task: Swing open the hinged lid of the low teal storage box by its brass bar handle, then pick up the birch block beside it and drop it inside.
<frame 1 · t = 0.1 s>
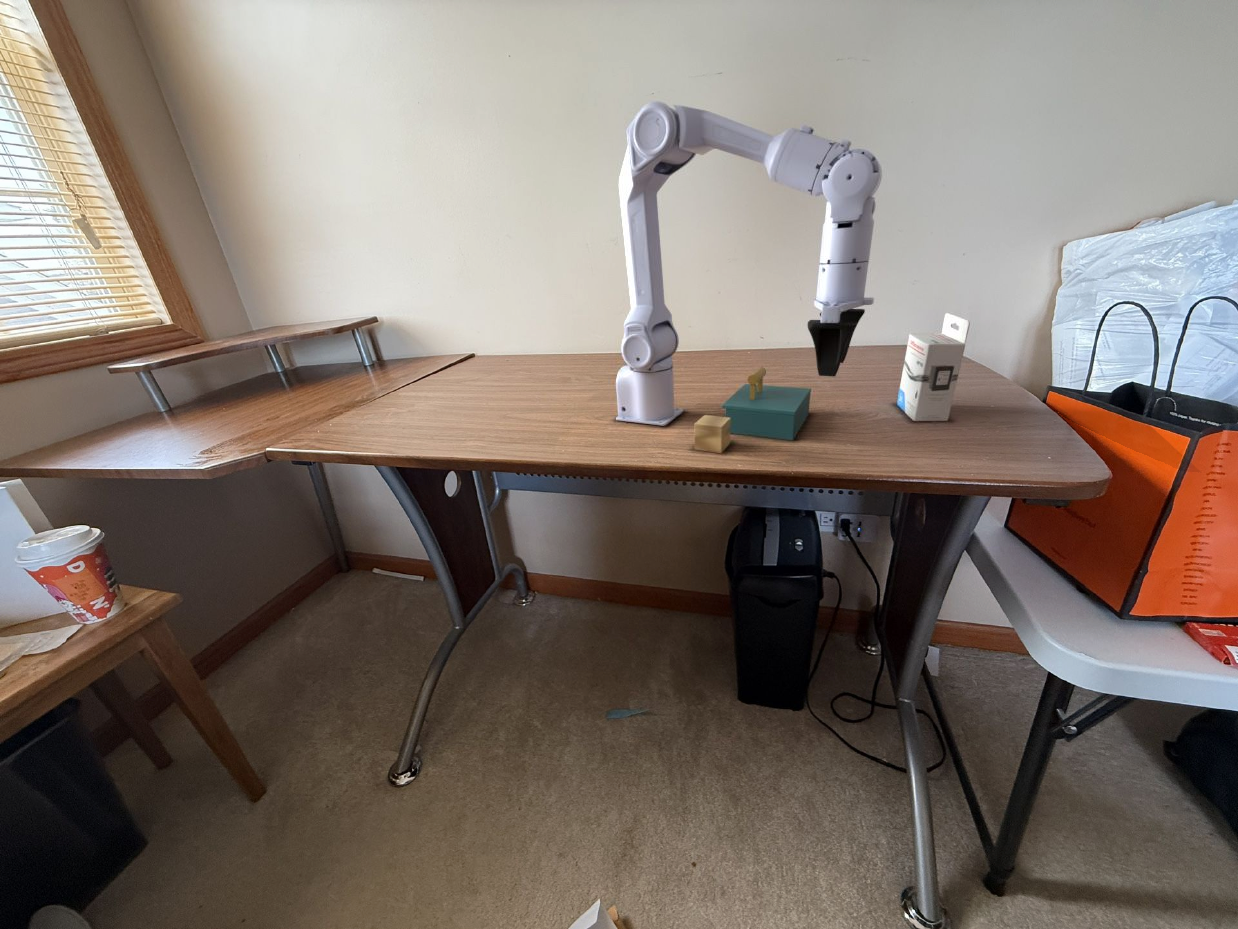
hand: (831, 368, 66), 10 cm above the table, tool pointing down, fingers open, 7 cm apart
chest: (768, 423, 77), on the table
block: (712, 446, 70), on the table
ink box: (920, 414, 76), on the table
chest lid: (768, 385, 74), point 6 cm above the table, hinge at 0.0°
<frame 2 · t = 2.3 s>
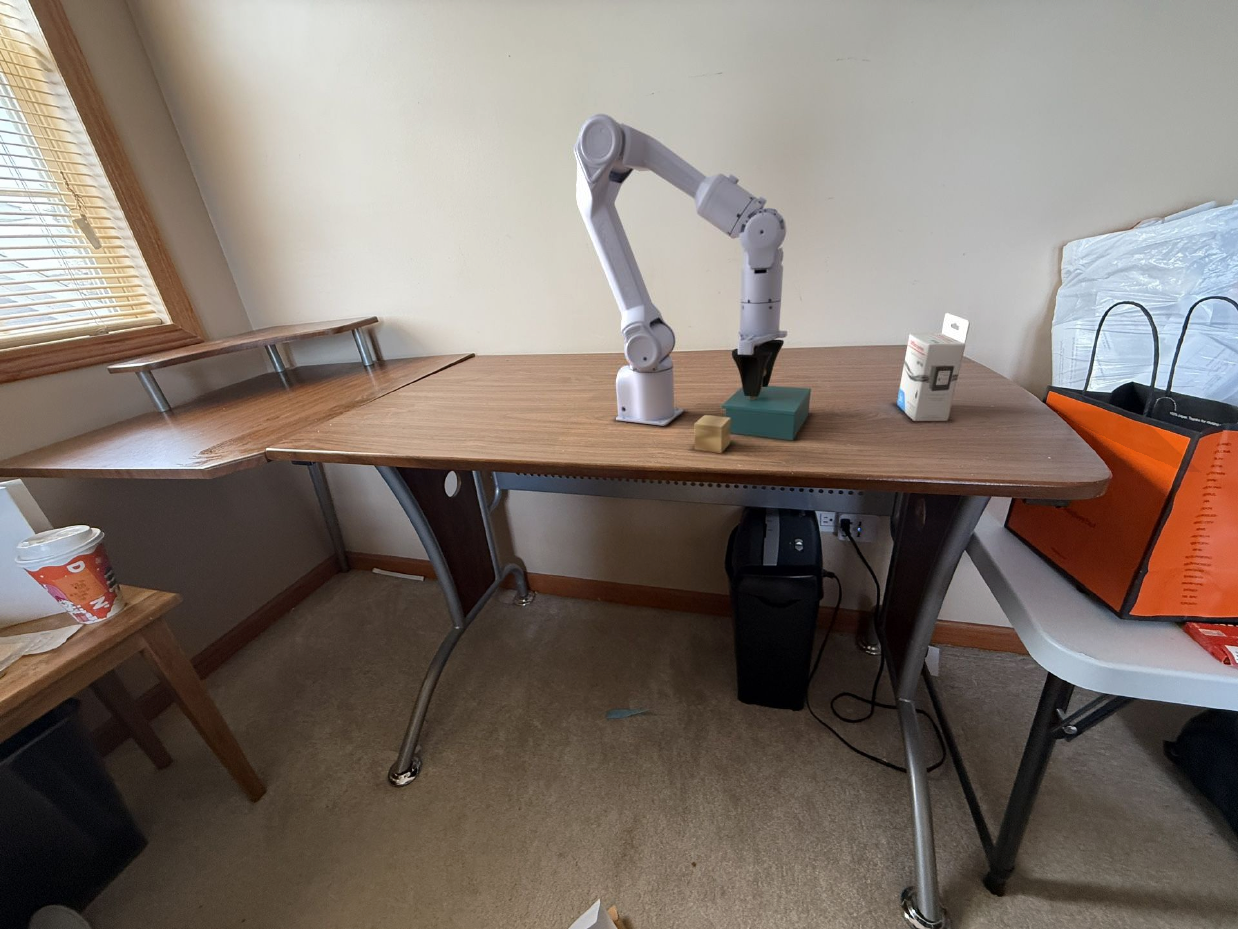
hand: (756, 390, 76), 5 cm above the table, tool pointing down, fingers closed on chest lid, 5 cm apart
chest lid: (768, 385, 74), point 6 cm above the table, hinge at 0.0°, touching gripper
everything else where it was.
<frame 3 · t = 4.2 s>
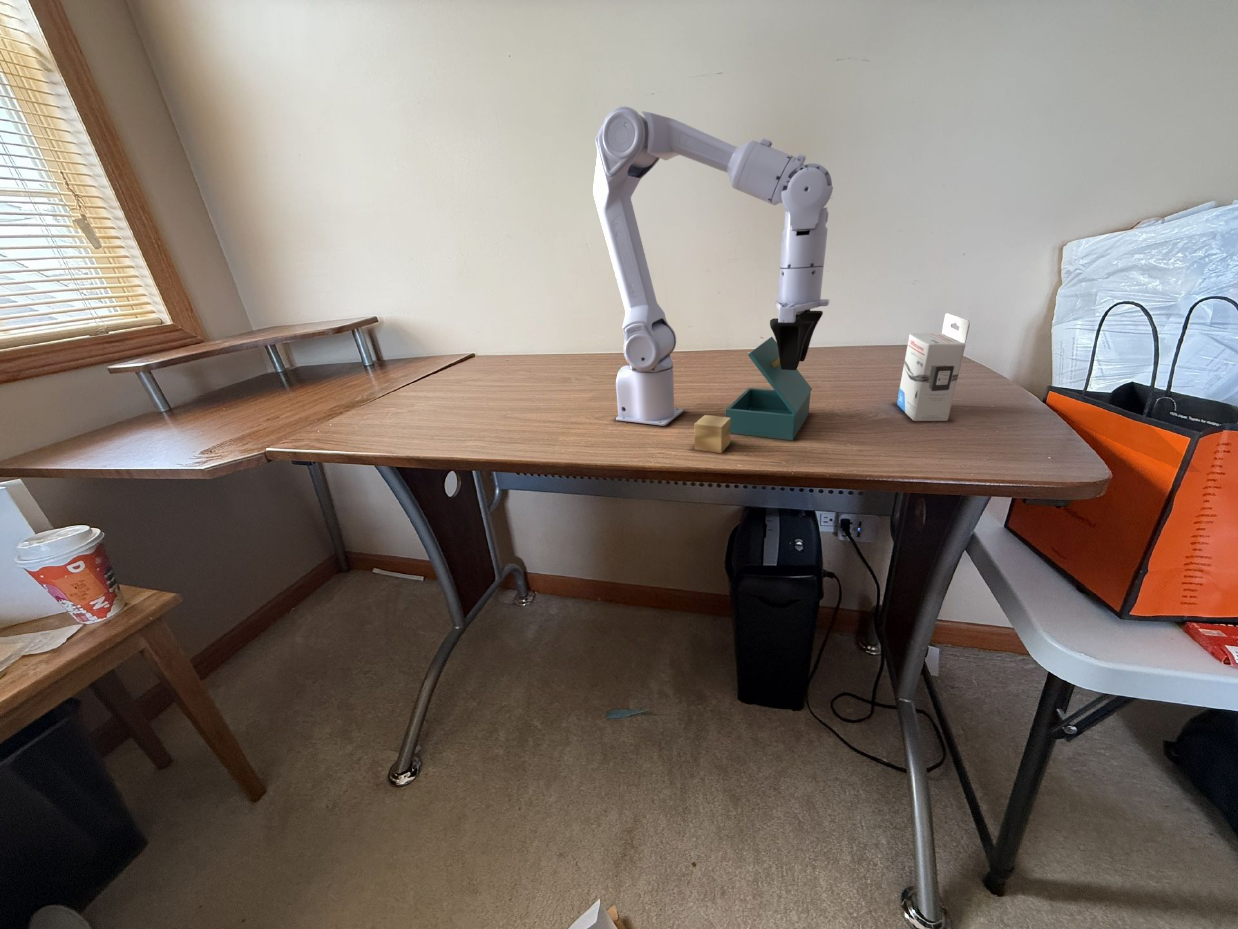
hand: (793, 365, 71), 10 cm above the table, tool pointing down, fingers closed on chest lid, 5 cm apart
chest lid: (793, 365, 71), point 10 cm above the table, hinge at 50.2°, touching gripper
everything else where it was.
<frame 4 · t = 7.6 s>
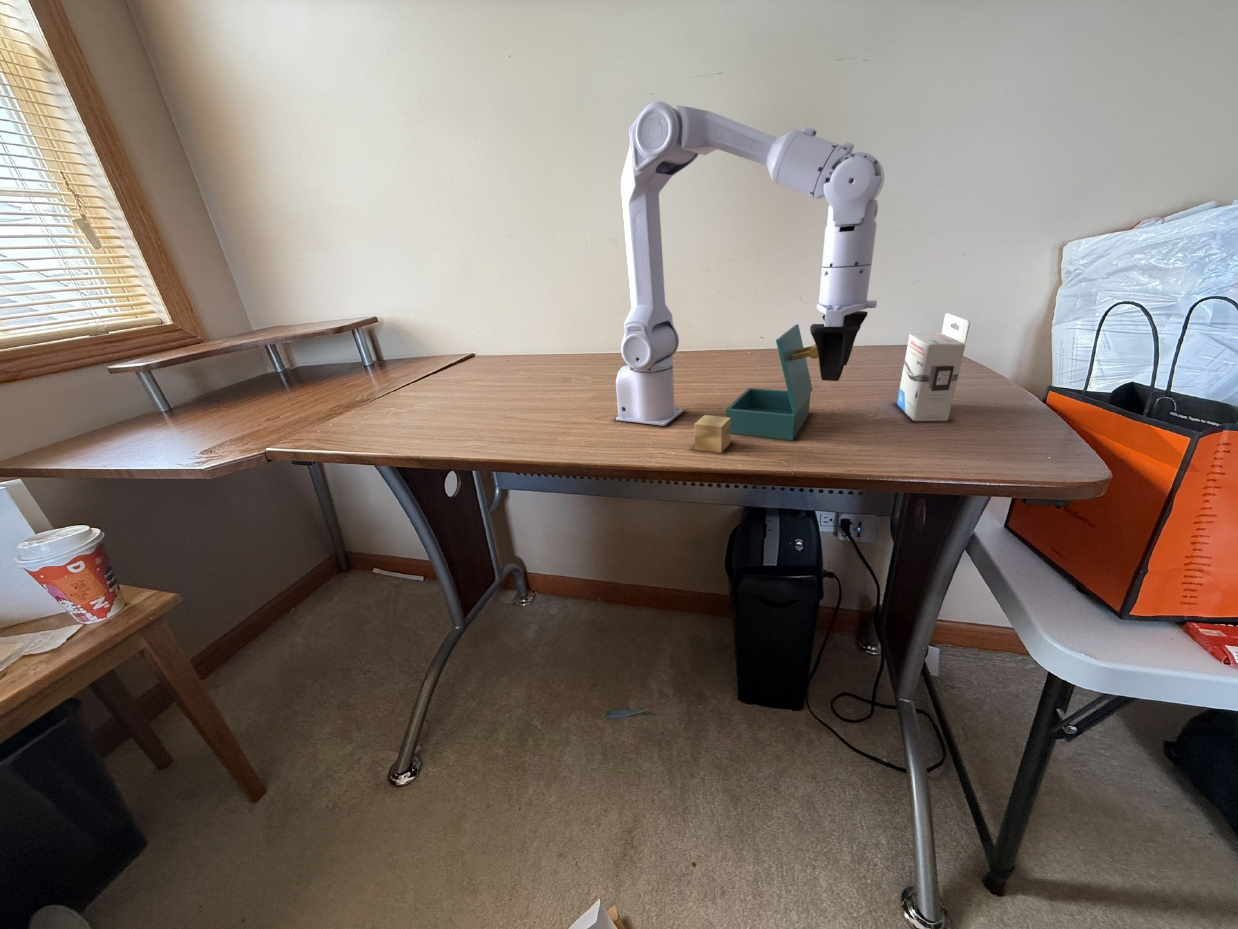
hand: (834, 371, 66), 10 cm above the table, tool pointing down, fingers open, 7 cm apart
chest lid: (809, 363, 70), point 10 cm above the table, hinge at 73.2°
everything else where it was.
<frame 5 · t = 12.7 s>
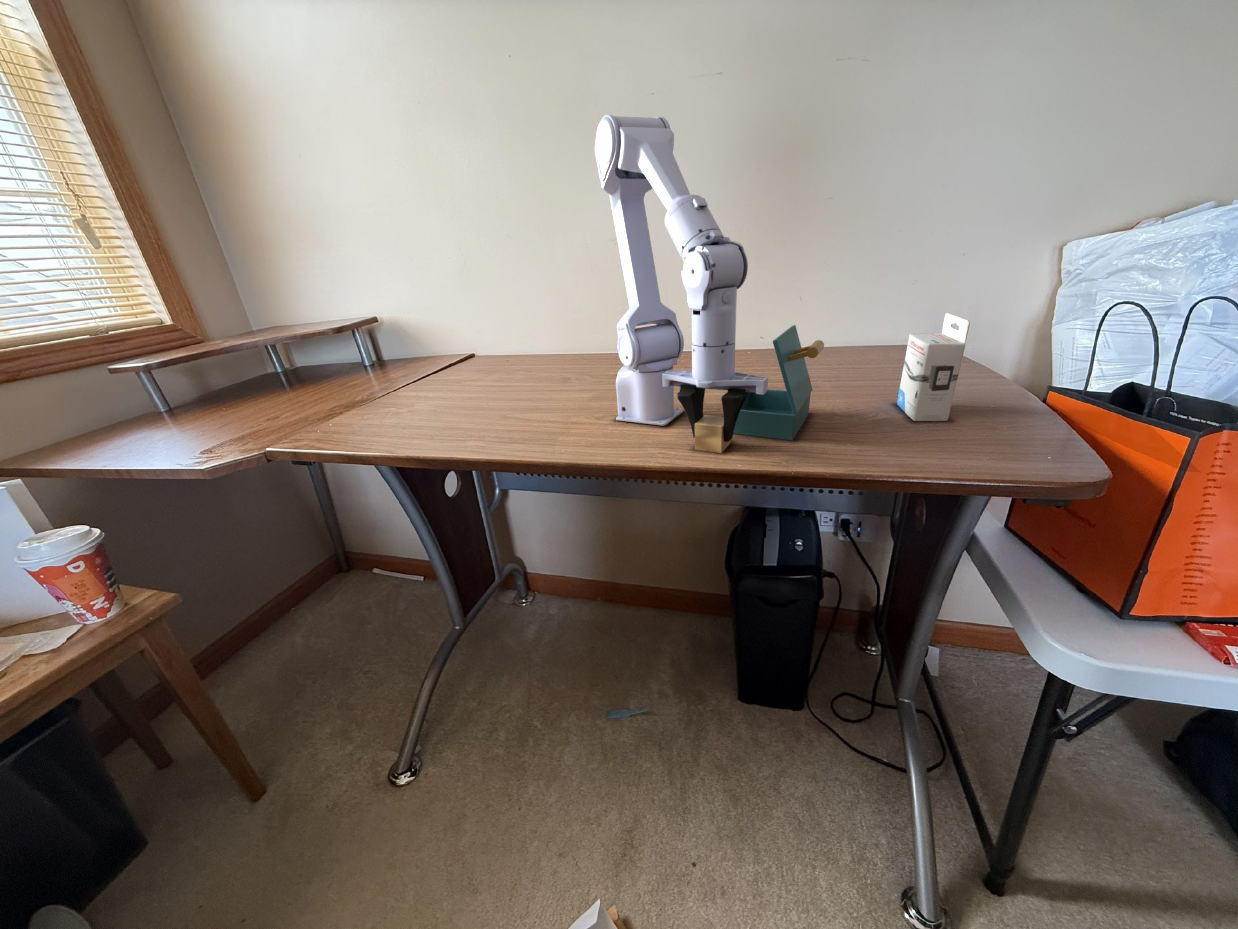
hand: (712, 437, 69), 1 cm above the table, tool pointing down, fingers closed on block, 4 cm apart
block: (712, 446, 70), on the table, touching gripper
chest lid: (807, 363, 70), point 10 cm above the table, hinge at 71.1°
everything else where it was.
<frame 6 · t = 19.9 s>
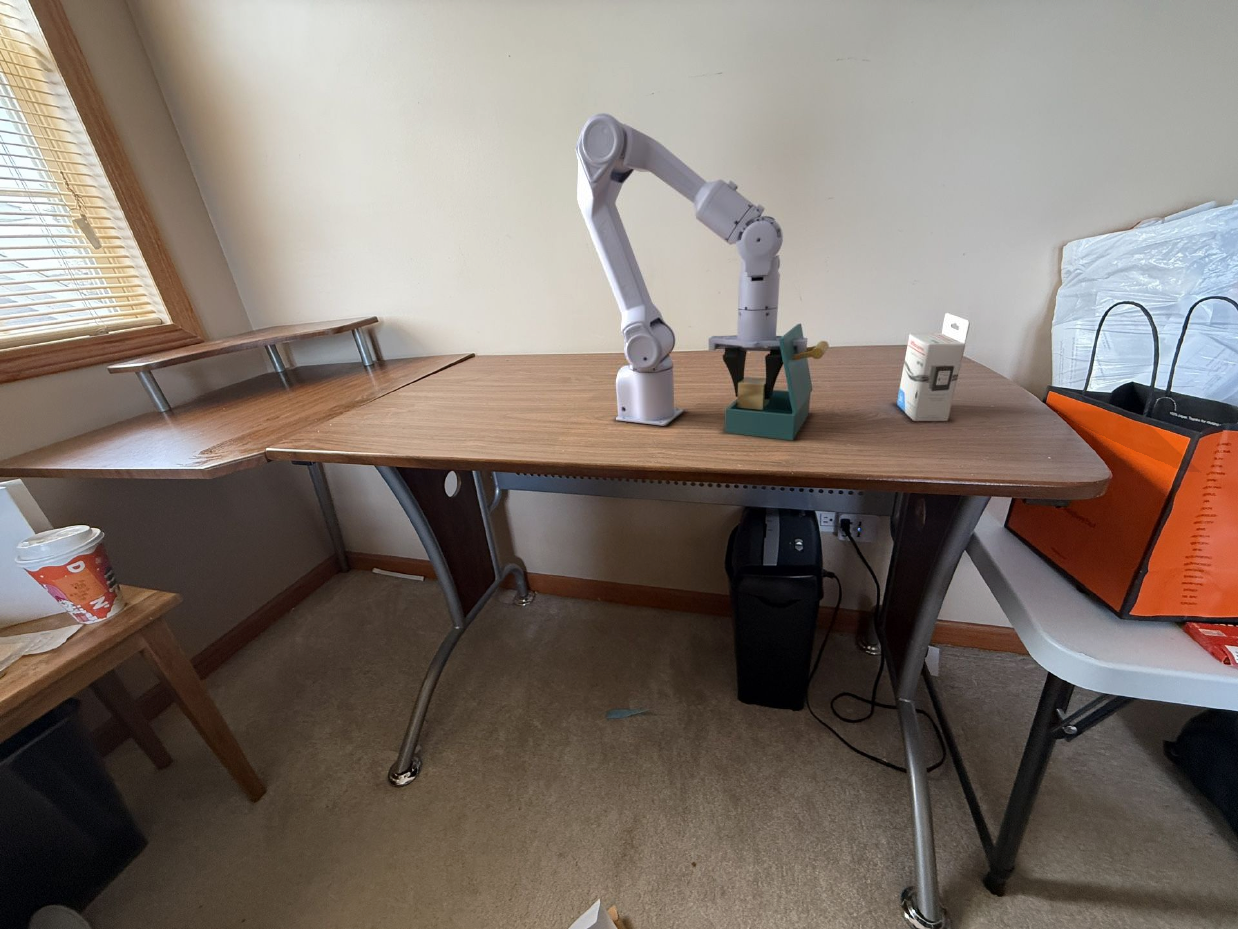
hand: (753, 396, 76), 4 cm above the table, tool pointing down, fingers closed on block, 4 cm apart
block: (753, 405, 77), point 3 cm above the table, touching gripper
chest lid: (811, 364, 70), point 10 cm above the table, hinge at 75.8°
everything else where it was.
when the fingers open (6 cm above the table, at t = 27.4 s): block drops 2 cm and tips over, resting on chest.
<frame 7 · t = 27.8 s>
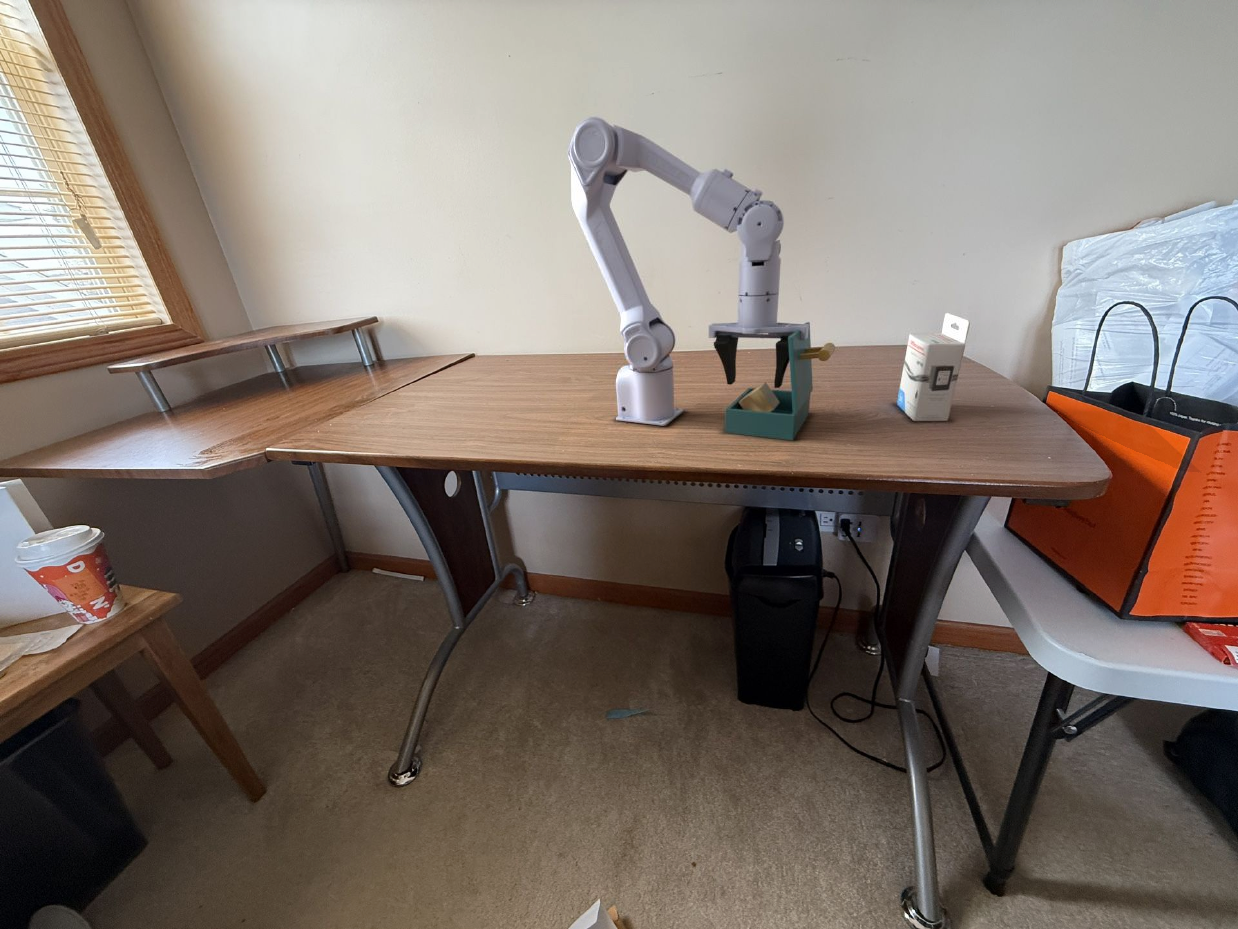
hand: (754, 384, 75), 6 cm above the table, tool pointing down, fingers open, 7 cm apart
block: (749, 408, 77), point 2 cm above the table, tilted 52°, touching chest
chest lid: (815, 365, 70), point 10 cm above the table, hinge at 82.5°, touching gripper
everything else where it was.
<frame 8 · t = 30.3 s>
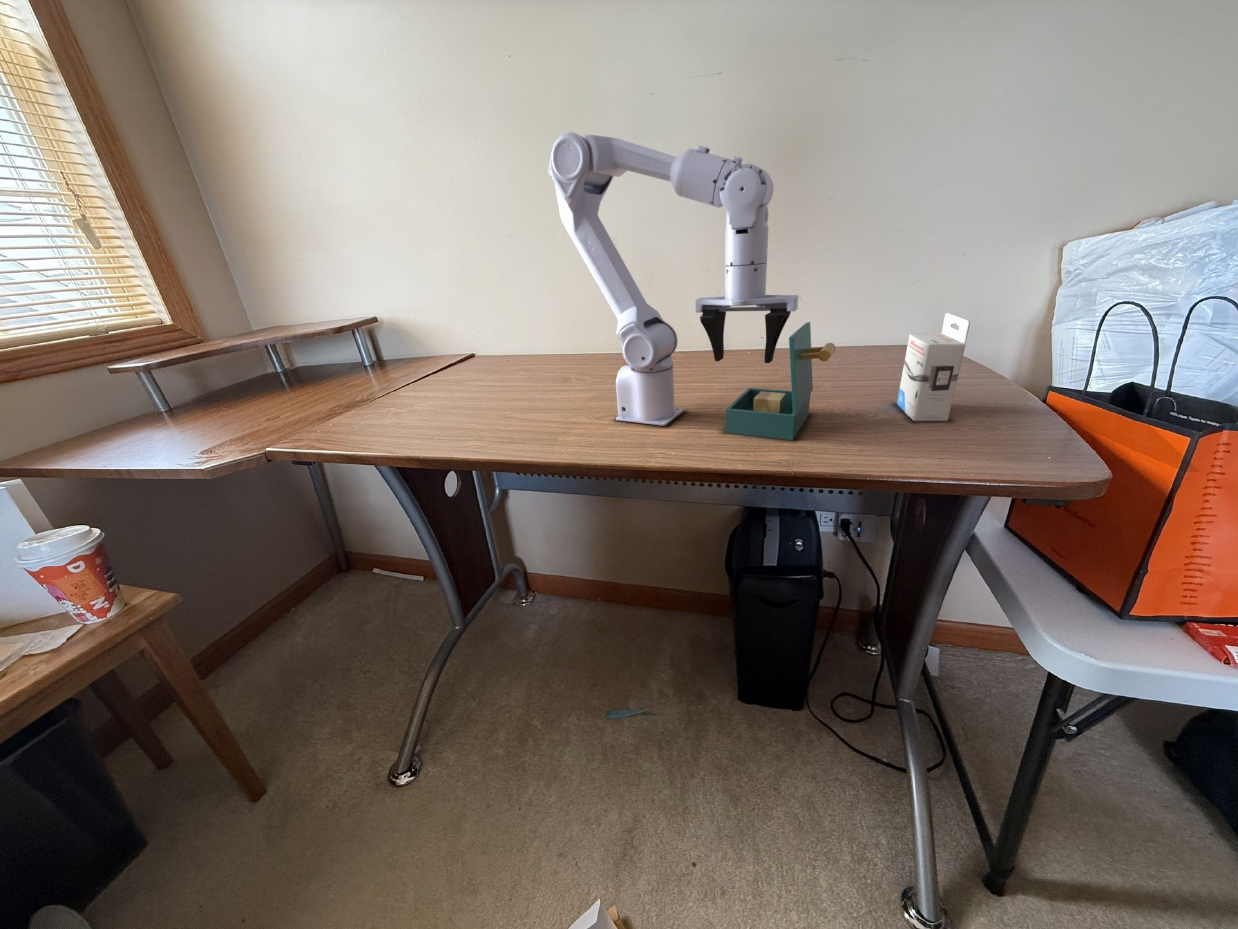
hand: (743, 360, 73), 10 cm above the table, tool pointing down, fingers open, 7 cm apart
block: (756, 406, 77), point 3 cm above the table, tilted 90°, touching chest
chest lid: (816, 365, 70), point 10 cm above the table, hinge at 82.9°
everything else where it was.
at the end: chest lid at +83° (first picture: +0°); block inside the target area in the chest (1.9 cm from its centre), point 2.6 cm above the chest's base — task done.
